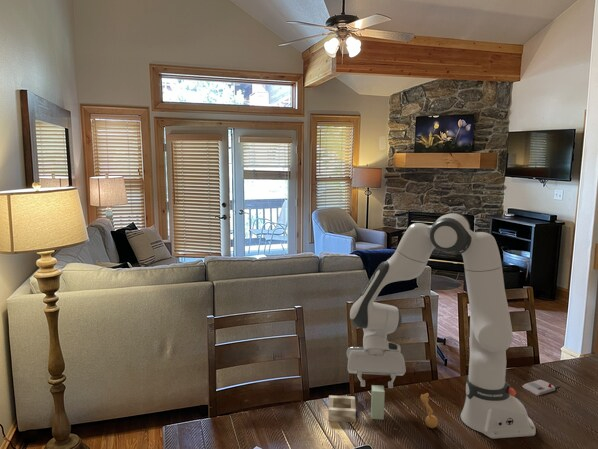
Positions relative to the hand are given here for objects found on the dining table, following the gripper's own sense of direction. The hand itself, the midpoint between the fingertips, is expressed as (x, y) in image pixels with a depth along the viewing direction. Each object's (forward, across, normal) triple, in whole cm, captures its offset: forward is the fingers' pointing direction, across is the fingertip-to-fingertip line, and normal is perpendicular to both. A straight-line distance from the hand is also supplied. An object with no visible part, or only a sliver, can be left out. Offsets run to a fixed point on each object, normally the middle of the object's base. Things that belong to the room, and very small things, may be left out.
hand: (376, 386), depth 152 cm
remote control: (-8, +64, +21) cm, 67 cm away
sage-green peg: (+8, 0, +4) cm, 9 cm away
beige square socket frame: (+9, -12, +4) cm, 15 cm away
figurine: (+12, +16, 0) cm, 20 cm away
